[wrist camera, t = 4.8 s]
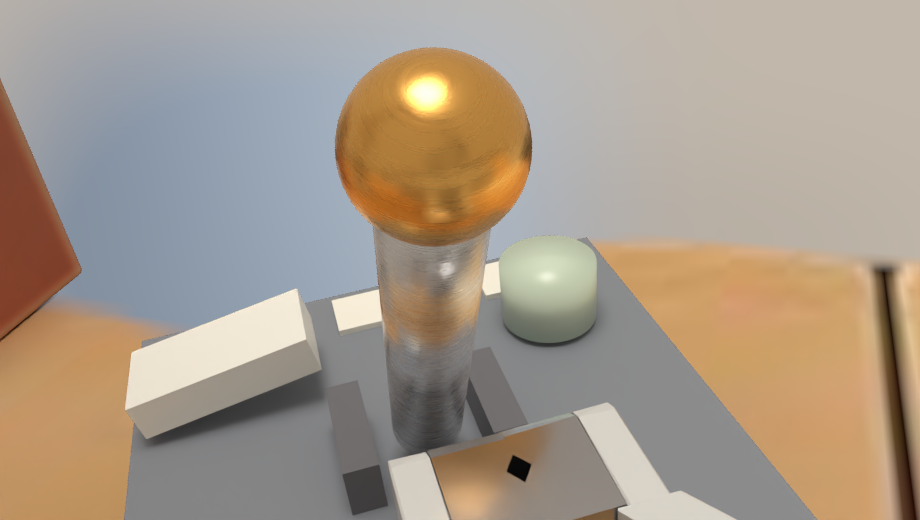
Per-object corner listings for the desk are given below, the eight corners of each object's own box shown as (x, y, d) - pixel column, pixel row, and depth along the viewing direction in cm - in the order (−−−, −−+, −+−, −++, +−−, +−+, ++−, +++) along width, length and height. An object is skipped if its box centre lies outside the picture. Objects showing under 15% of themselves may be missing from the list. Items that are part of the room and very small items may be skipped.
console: (845, 758, 20) (912, 571, 16) (184, 1008, 17) (53, 861, 13) (587, 360, 33) (586, 202, 29) (191, 464, 30) (127, 305, 26)
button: (612, 329, 25) (613, 275, 23) (520, 352, 24) (516, 299, 23) (574, 277, 27) (573, 227, 26) (490, 298, 26) (486, 247, 25)
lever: (487, 465, 21) (576, 144, 9) (390, 492, 20) (351, 191, 9) (460, 375, 22) (505, -12, 10) (367, 399, 22) (305, 22, 10)
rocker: (321, 369, 23) (306, 339, 22) (146, 439, 22) (124, 410, 22) (311, 317, 25) (296, 288, 24) (151, 380, 24) (131, 352, 24)
